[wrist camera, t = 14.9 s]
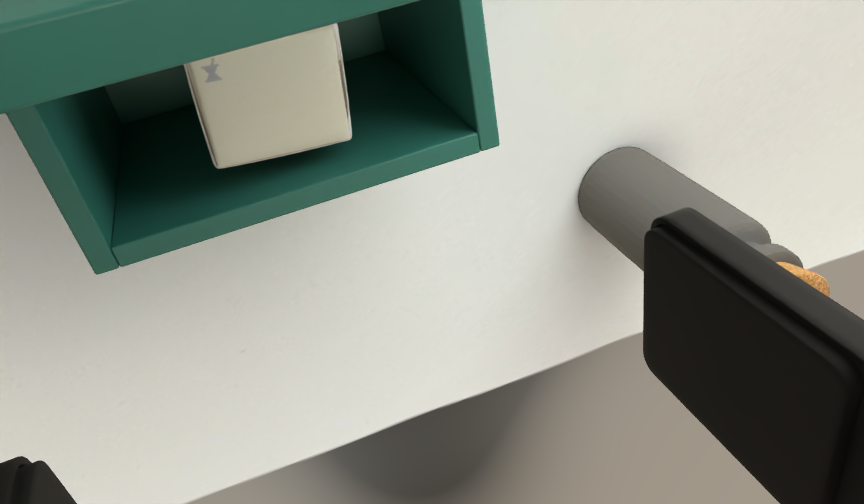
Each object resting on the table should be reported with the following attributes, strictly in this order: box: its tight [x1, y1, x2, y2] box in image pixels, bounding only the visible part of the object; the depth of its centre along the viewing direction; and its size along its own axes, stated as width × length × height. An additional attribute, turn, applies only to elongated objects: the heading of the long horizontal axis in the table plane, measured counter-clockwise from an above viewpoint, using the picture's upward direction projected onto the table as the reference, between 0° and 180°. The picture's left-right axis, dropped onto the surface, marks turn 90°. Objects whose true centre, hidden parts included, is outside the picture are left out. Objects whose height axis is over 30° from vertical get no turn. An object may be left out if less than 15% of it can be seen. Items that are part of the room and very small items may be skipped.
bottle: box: [579, 147, 830, 297], centre depth 39 cm, size 6×6×15 cm
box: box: [183, 23, 352, 169], centre depth 27 cm, size 5×4×11 cm
